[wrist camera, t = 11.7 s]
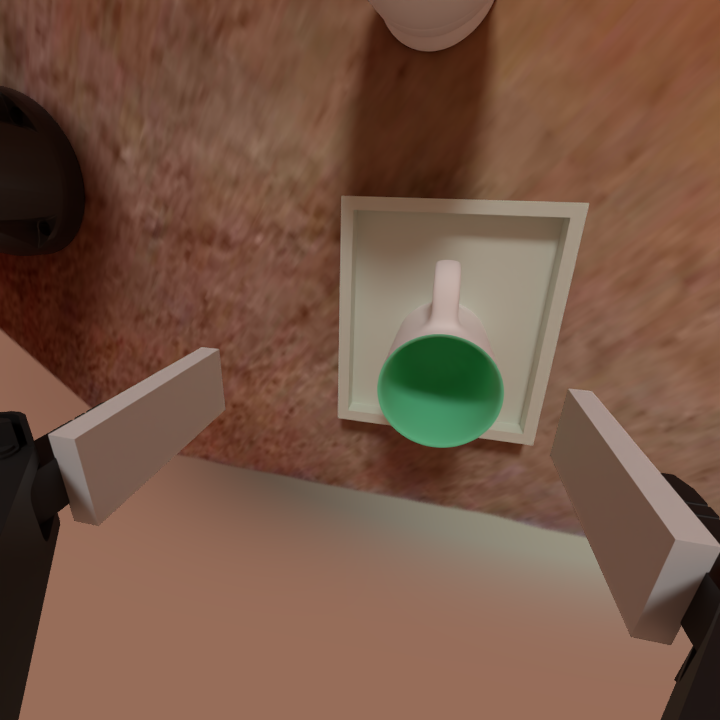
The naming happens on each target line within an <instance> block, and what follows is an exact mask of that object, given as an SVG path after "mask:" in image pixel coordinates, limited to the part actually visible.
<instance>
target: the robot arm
mask: <svg viewBox="0 0 720 720" xmlns="http://www.w3.org/2000/svg"><path fill="white" fill-rule="evenodd" d="M83 211H84V188H83V181H82V176H81V172H80V168H79V165H78V162H77V159H76V156H75V154H74V151H73V149H72V147H71V145H70V143H69V141H68V139H67V138H66V136H65V134H64V133H63V131H62V130H61V128H60V127H59V125H58V124H57V123H56V121H55V120H54V119H53V118H52V117H51V116H50V114H49V113H48V112H47V111H46V110H45V109H44V108H43V107H41V106H40V105H39V104H38V103H37V102H35V101H34V100H33V99H31V98H30V97H28V96H26V95H25V94H23V93H21V92H19V91H16V90H13V89H10V88H7V87H4V86H0V252H1V253H6V254H10V255H17V256H31V255H41V254H50V253H54V252H57V251H59V250H61V249H63V248H64V247H65V246H67V245H68V244H69V243H70V242H71V241H72V239H73V238H74V237H75V235H76V233H77V231H78V229H79V227H80V224H81V221H82V217H83ZM224 410H225V402H224V392H223V383H222V373H221V363H220V354H219V349H213V348H204V347H201V348H200V349H198V350H196V351H194V352H192V353H191V354H189V355H187V356H185V357H184V358H182V359H180V360H178V361H177V362H175V363H173V364H171V365H170V366H168V367H166V368H164V369H163V370H161V371H159V372H157V373H156V374H154V375H152V376H150V377H149V378H147V379H145V380H143V381H142V382H140V383H138V384H136V385H135V386H133V387H131V388H129V389H127V390H126V391H124V392H122V393H120V394H119V395H117V396H115V397H113V398H112V399H110V400H108V401H106V402H103V403H100V404H99V405H97V406H95V407H93V408H92V409H90V410H88V411H87V412H86V413H83V414H81V415H79V416H77V417H76V418H75V419H74V420H70V421H69V422H67V423H65V424H63V425H61V426H60V427H58V428H56V429H54V430H53V431H51V432H50V433H47V434H46V435H44V436H42V437H40V438H38V439H37V440H35V441H34V440H33V437H32V433H31V430H30V427H29V424H28V421H27V418H26V415H25V414H23V413H21V412H14V411H10V412H0V720H18V719H19V714H20V709H21V705H22V700H23V696H24V691H25V686H26V681H27V677H28V672H29V667H30V663H31V658H32V653H33V649H34V644H35V639H36V635H37V630H38V625H39V621H40V616H41V611H42V607H43V602H44V597H45V593H46V588H47V583H48V578H49V574H50V569H51V565H52V560H53V555H54V550H55V546H56V541H57V536H58V532H59V527H60V520H59V517H58V513H57V512H59V511H60V510H61V509H63V508H64V507H65V506H66V505H68V504H69V505H70V508H71V512H72V515H73V518H74V521H78V522H82V523H88V524H92V525H97V526H99V525H100V524H101V523H102V522H103V521H104V520H106V519H107V518H108V517H109V516H110V515H111V514H112V513H113V512H114V511H115V510H116V509H117V508H118V507H120V506H121V505H122V504H123V503H124V502H125V501H126V500H127V499H128V498H129V497H130V496H132V495H133V494H134V493H135V492H136V491H137V490H138V489H139V488H140V487H141V486H142V485H143V484H145V483H146V481H148V480H149V479H150V478H151V477H152V476H153V475H154V474H155V473H157V472H158V471H159V470H160V469H161V468H162V467H163V466H164V465H165V464H166V463H167V462H169V461H170V460H171V459H172V458H173V457H174V456H175V455H176V454H177V453H178V452H180V451H181V450H182V449H183V448H184V447H185V446H186V445H187V444H188V443H189V442H190V441H191V440H193V439H194V438H195V437H196V436H197V435H198V434H199V433H200V432H201V431H202V430H203V429H205V428H206V427H207V426H208V425H209V424H210V423H211V422H212V421H213V420H214V419H215V418H217V417H218V416H219V415H220V414H221V413H222V412H223V411H224ZM550 456H551V458H552V460H553V463H554V465H555V467H556V469H557V472H558V474H559V476H560V478H561V481H562V483H563V485H564V487H565V490H566V492H567V494H568V496H569V499H570V501H571V503H572V505H573V508H574V510H575V512H576V514H577V517H578V519H579V521H580V523H581V526H582V528H583V530H584V532H585V535H586V537H587V539H588V541H589V544H590V546H591V548H592V550H593V553H594V555H595V557H596V559H597V561H598V564H599V566H600V568H601V571H602V573H603V575H604V577H605V580H606V582H607V584H608V586H609V588H610V591H611V593H612V595H613V598H614V600H615V602H616V604H617V607H618V609H619V611H620V613H621V616H622V618H623V620H624V622H625V624H626V627H627V629H628V631H629V634H630V636H631V637H634V638H639V639H644V640H648V641H654V642H658V643H663V644H667V645H671V644H672V642H673V640H674V638H675V637H676V635H677V633H678V631H679V629H680V627H681V625H682V627H683V629H684V631H685V632H686V634H687V636H688V638H689V639H690V641H691V643H692V644H693V647H692V649H691V651H690V652H689V654H688V656H687V658H686V660H685V661H684V663H683V665H682V667H681V669H680V670H679V672H678V674H677V676H676V677H675V679H674V680H675V681H676V684H675V687H674V689H673V691H672V694H671V696H670V699H669V701H668V704H667V706H666V708H665V711H664V713H663V715H662V718H661V720H720V520H719V516H718V515H717V514H716V513H715V512H714V511H713V509H712V508H711V507H708V504H707V503H706V502H705V501H704V500H703V498H702V497H701V496H700V495H699V494H698V493H697V492H696V491H695V490H694V489H693V488H692V487H690V486H689V485H687V484H686V483H685V482H683V481H682V480H680V479H679V478H677V477H676V476H675V475H672V474H665V473H660V472H659V471H658V470H657V469H656V467H655V466H654V465H653V464H652V463H651V461H650V460H649V459H648V458H647V457H646V455H645V454H644V453H643V452H642V451H641V449H640V448H639V447H638V446H637V445H636V443H635V442H634V441H633V440H632V439H631V437H630V436H629V435H628V434H627V433H626V431H625V430H624V429H623V428H622V427H621V425H620V424H619V423H618V422H617V421H616V419H615V418H614V417H613V416H612V415H611V413H610V412H609V411H608V410H607V409H606V407H605V406H604V405H603V404H602V403H601V401H600V400H599V399H598V398H597V397H596V395H595V394H594V393H593V392H592V391H586V390H577V389H568V390H567V394H566V398H565V402H564V405H563V409H562V413H561V417H560V420H559V424H558V428H557V432H556V435H555V439H554V443H553V446H552V450H551V454H550Z"/></svg>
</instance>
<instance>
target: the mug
mask: <svg viewBox="0 0 720 720" xmlns="http://www.w3.org/2000/svg"><path fill="white" fill-rule="evenodd" d="M460 286H461V264H460V263H459V262H458V261H454V260H441V261H438V262H437V263H436V266H435V274H434V285H433V298H432V302H430V303H427V304H424V305H422V306H420V307H418V308H416V309H415V310H413V311H412V312H411V313H410V314H409V315H408V316H407V317H406V318H405V319H404V321H403V322H402V324H401V326H400V328H399V330H398V332H397V335H396V337H395V339H394V342H393V344H392V346H391V348H390V351H389V353H388V355H387V358H386V360H385V362H384V364H383V367H382V369H381V372H380V374H379V378H378V384H377V395H378V401H379V404H380V407H381V410H382V412H383V414H384V416H385V418H386V419H387V421H388V422H389V423H390V424H391V426H392V427H393V428H394V429H395V430H396V431H398V432H399V433H400V434H401V435H403V436H404V437H406V438H408V439H409V440H411V441H414V442H416V443H419V444H422V445H425V446H430V447H439V448H446V447H455V446H459V445H463V444H466V443H468V442H471V441H473V440H475V439H476V438H478V437H480V436H481V435H482V434H484V433H485V432H486V431H487V430H488V429H489V428H490V427H491V426H492V425H493V423H494V422H495V421H496V419H497V417H498V415H499V413H500V411H501V408H502V405H503V400H504V385H503V380H502V377H501V374H500V371H499V368H498V365H497V362H496V359H495V356H494V354H493V351H492V348H491V345H490V342H489V339H488V336H487V334H486V331H485V328H484V326H483V324H482V322H481V321H480V319H479V318H478V317H477V316H476V315H475V314H474V313H473V312H472V311H471V310H469V309H468V308H466V307H464V306H462V305H460V304H459V299H460Z"/></svg>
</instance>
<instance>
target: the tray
mask: <svg viewBox="0 0 720 720" xmlns="http://www.w3.org/2000/svg"><path fill="white" fill-rule="evenodd" d="M588 207H589V203H571V202H537V201H503V200H469V199H435V198H401V197H367V196H341V249H340V311H339V374H338V418H341V419H348V420H356V421H363V422H370V423H377V424H384V425H391V424H390V423H389V422H388V421H387V419H386V418H385V416H384V414H383V412H382V410H381V407H380V404H379V401H378V395H377V384H378V378H379V374H380V372H381V369H382V367H383V364H384V362H385V360H386V358H387V355H388V353H389V351H390V348H391V346H392V344H393V342H394V339H395V337H396V335H397V332H398V330H399V328H400V326H401V324H402V322H403V321H404V319H405V318H406V317H407V316H408V315H409V314H410V313H411V312H412V311H413V310H415V309H416V308H418V307H420V306H422V305H424V304H427V303H430V302H432V298H433V285H434V274H435V266H436V263H437V262H438V261H441V260H454V261H458V262H459V263H460V264H461V286H460V299H459V304H460V305H462V306H464V307H466V308H468V309H469V310H471V311H472V312H473V313H474V314H475V315H476V316H477V317H478V318H479V319H480V321H481V322H482V324H483V326H484V328H485V331H486V334H487V336H488V339H489V342H490V345H491V348H492V351H493V354H494V356H495V359H496V362H497V365H498V368H499V371H500V374H501V377H502V380H503V385H504V400H503V405H502V408H501V411H500V413H499V415H498V417H497V419H496V421H495V422H494V423H493V425H492V426H491V427H490V428H489V429H488V430H487V431H486V432H485V433H484V434H482V435H481V436H480V437H478V438H483V439H490V440H497V441H505V442H512V443H519V444H526V445H533V443H534V439H535V435H536V430H537V426H538V422H539V417H540V413H541V409H542V404H543V400H544V396H545V392H546V387H547V383H548V379H549V374H550V370H551V366H552V361H553V357H554V353H555V349H556V344H557V340H558V336H559V331H560V327H561V323H562V318H563V314H564V310H565V305H566V301H567V297H568V293H569V288H570V284H571V280H572V275H573V271H574V267H575V262H576V258H577V254H578V250H579V245H580V241H581V237H582V232H583V228H584V224H585V219H586V215H587V211H588Z"/></svg>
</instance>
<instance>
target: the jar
mask: <svg viewBox="0 0 720 720" xmlns="http://www.w3.org/2000/svg"><path fill="white" fill-rule="evenodd" d="M368 1H369V3H370V4H371V5H372V6H373V7H374V9H375V10H376V11H377V12H378V14H379V15H380V16H381V17H382V18H383V19H384V22H385V24H386V25H387V27H388V29H389V30H390V32H391V33H392V34H393V35H394V36H395V37H396V38H397V39H398V40H399V41H400V42H401V43H403V44H404V45H406V46H408V47H410V48H412V49H415V50H419V51H438V50H442V49H446V48H448V47H451V46H453V45H455V44H457V43H458V42H460V41H462V40H463V39H464V38H466V37H467V36H468V35H469V34H470V33H472V32H473V31H474V30H475V29H476V28H477V26H478V25H479V24H480V23H481V22H482V20H483V19H484V18H485V16H486V15H487V13H488V11H489V10H490V8H491V6H492V4H493V2H494V0H368Z"/></svg>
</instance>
